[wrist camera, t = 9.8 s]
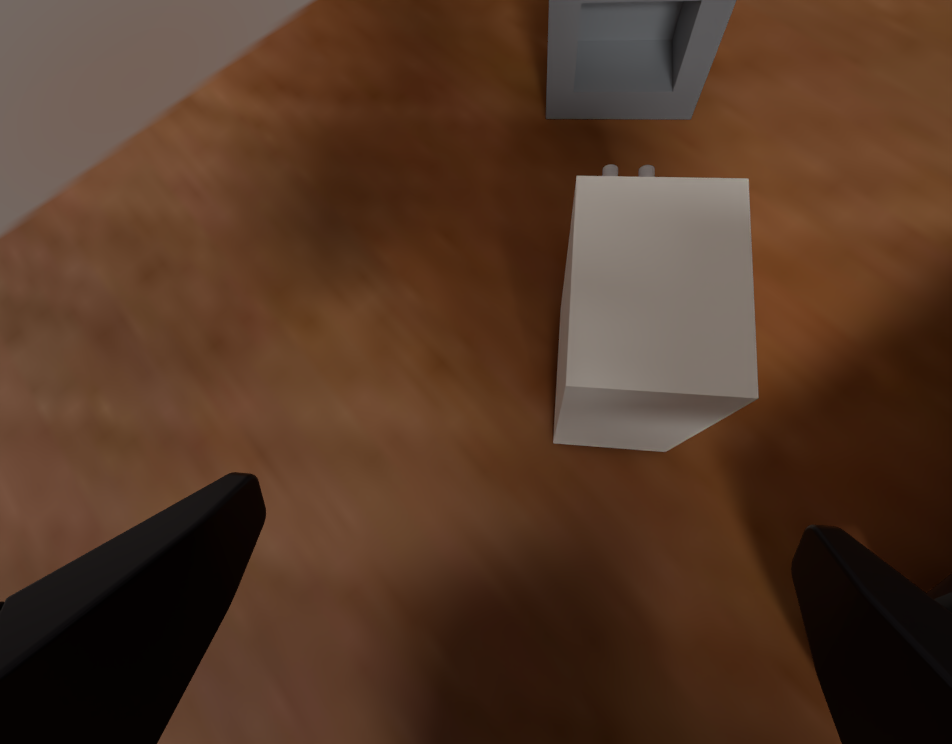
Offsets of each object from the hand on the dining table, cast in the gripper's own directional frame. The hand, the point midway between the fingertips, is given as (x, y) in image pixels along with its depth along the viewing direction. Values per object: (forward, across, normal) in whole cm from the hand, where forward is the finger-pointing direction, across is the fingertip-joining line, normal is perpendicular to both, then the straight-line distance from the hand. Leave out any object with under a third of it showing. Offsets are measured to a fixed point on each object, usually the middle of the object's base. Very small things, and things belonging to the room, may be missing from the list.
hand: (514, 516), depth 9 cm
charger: (+15, -3, +3) cm, 16 cm away
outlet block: (+25, -3, -6) cm, 26 cm away
